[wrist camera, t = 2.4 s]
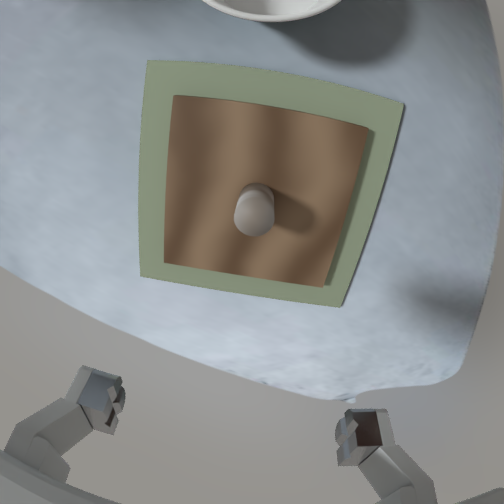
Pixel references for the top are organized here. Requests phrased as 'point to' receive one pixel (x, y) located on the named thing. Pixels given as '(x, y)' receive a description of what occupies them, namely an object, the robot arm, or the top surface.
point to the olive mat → (272, 94)
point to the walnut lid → (257, 188)
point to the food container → (272, 9)
